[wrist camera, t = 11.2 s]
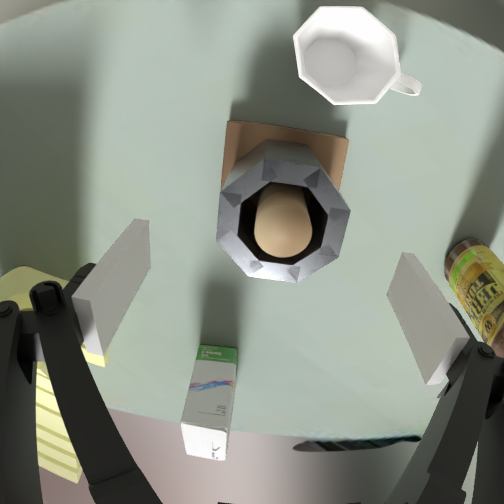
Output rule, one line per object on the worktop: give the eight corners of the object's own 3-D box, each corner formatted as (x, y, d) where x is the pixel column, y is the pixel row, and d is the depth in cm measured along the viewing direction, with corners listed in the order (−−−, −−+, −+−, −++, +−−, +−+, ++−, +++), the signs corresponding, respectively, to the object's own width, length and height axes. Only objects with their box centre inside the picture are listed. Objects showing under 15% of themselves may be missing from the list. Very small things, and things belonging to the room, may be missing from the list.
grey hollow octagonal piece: (228, 224, 29) (214, 272, 22) (237, 134, 25) (223, 153, 18) (317, 236, 29) (330, 286, 22) (335, 149, 25) (358, 174, 18)
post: (219, 225, 31) (196, 289, 22) (229, 119, 26) (204, 137, 17) (323, 239, 31) (342, 308, 22) (345, 137, 26) (383, 165, 17)
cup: (297, 15, 21) (307, -13, 14) (407, 55, 22) (451, 49, 15) (276, 88, 24) (277, 88, 17) (385, 125, 25) (424, 141, 18)
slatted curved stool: (3, 202, 31) (-98, 278, 15) (106, 231, 32) (6, 347, 16) (34, 361, 45) (-11, 436, 29) (113, 393, 46) (77, 483, 30)
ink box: (198, 342, 38) (178, 422, 28) (238, 347, 38) (228, 429, 28) (200, 384, 43) (185, 456, 32) (235, 389, 42) (226, 462, 32)
